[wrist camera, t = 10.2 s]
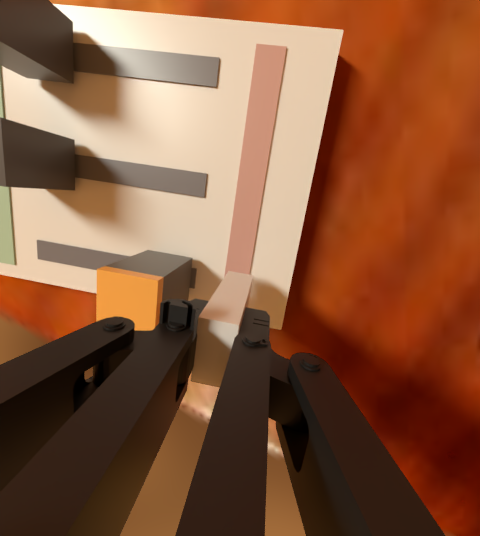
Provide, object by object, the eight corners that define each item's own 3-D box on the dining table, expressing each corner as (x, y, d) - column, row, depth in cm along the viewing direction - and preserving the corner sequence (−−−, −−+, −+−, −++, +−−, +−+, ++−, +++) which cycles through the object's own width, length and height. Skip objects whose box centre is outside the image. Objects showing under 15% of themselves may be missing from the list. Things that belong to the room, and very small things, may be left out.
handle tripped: (192, 257, 17) (158, 280, 12) (188, 301, 18) (154, 339, 13) (148, 249, 17) (96, 269, 12) (145, 292, 18) (96, 327, 13)
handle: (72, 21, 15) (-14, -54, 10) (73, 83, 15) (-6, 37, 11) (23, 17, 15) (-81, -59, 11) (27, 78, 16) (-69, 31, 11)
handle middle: (74, 139, 16) (0, 117, 12) (75, 190, 17) (5, 186, 13) (29, 133, 16) (-59, 109, 12) (32, 183, 17) (-50, 177, 13)
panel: (335, 51, 15) (344, 28, 13) (280, 317, 20) (281, 330, 18) (-32, 15, 18) (-72, -9, 16) (-7, 261, 22) (-36, 267, 20)
